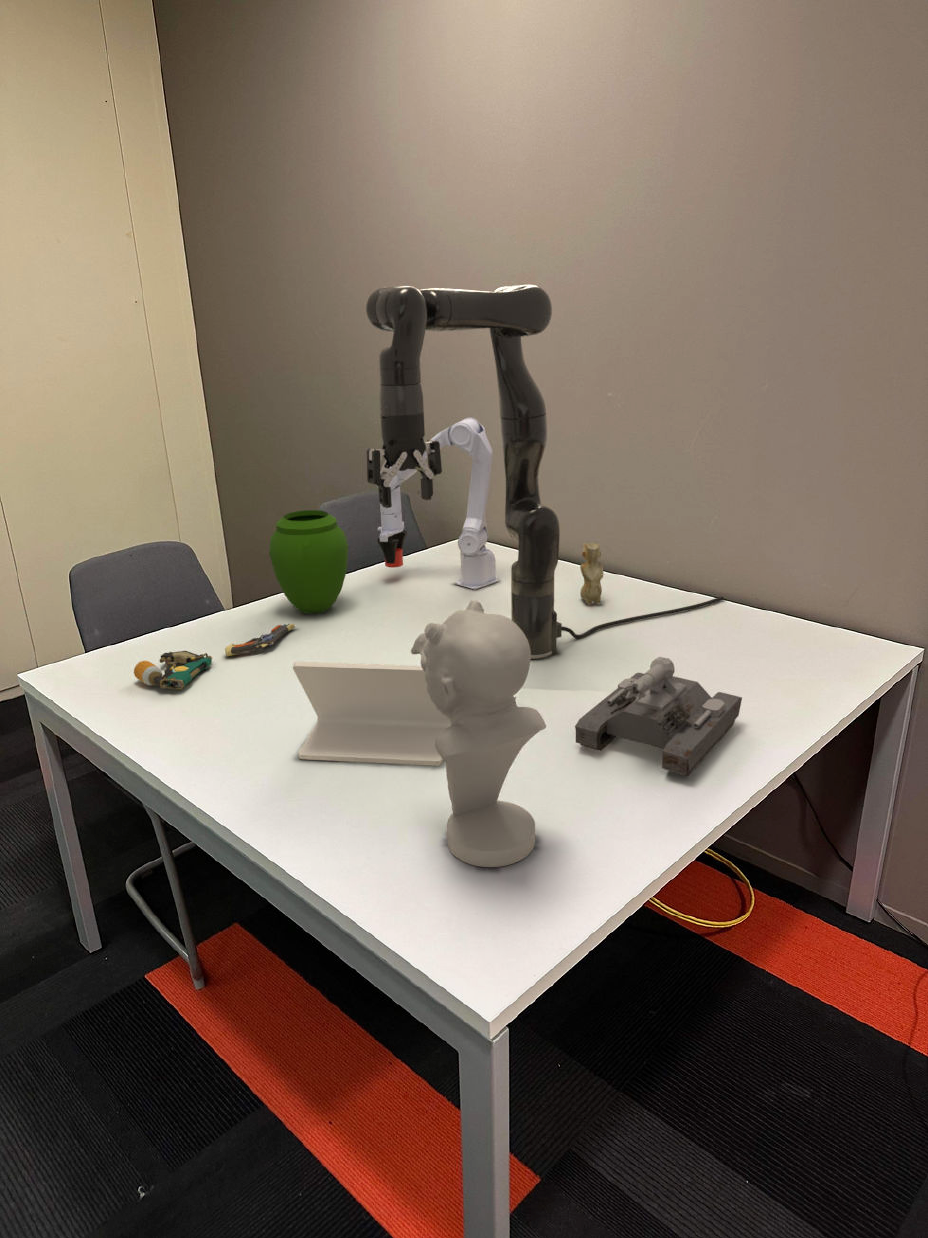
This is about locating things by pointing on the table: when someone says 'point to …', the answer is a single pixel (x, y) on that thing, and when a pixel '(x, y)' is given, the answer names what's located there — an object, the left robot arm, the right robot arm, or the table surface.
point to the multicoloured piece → (172, 669)
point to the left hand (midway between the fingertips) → (394, 560)
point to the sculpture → (591, 574)
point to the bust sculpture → (481, 729)
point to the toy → (661, 717)
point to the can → (396, 559)
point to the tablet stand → (370, 713)
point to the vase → (309, 559)
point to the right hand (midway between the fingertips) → (406, 503)
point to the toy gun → (259, 640)
